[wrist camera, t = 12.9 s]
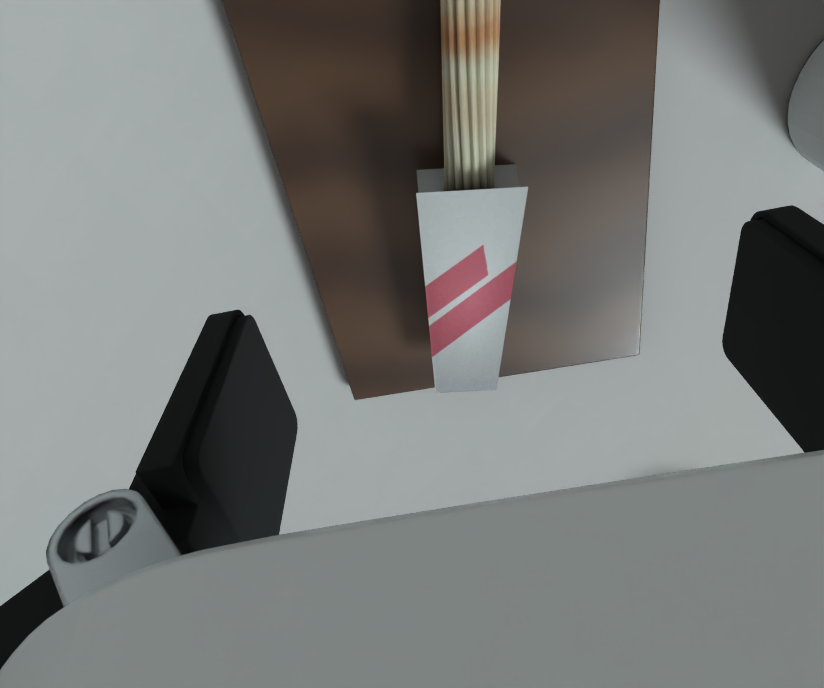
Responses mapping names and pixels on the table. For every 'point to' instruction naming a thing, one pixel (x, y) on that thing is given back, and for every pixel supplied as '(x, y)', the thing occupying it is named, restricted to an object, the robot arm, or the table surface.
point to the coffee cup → (809, 109)
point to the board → (424, 149)
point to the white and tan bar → (469, 208)
